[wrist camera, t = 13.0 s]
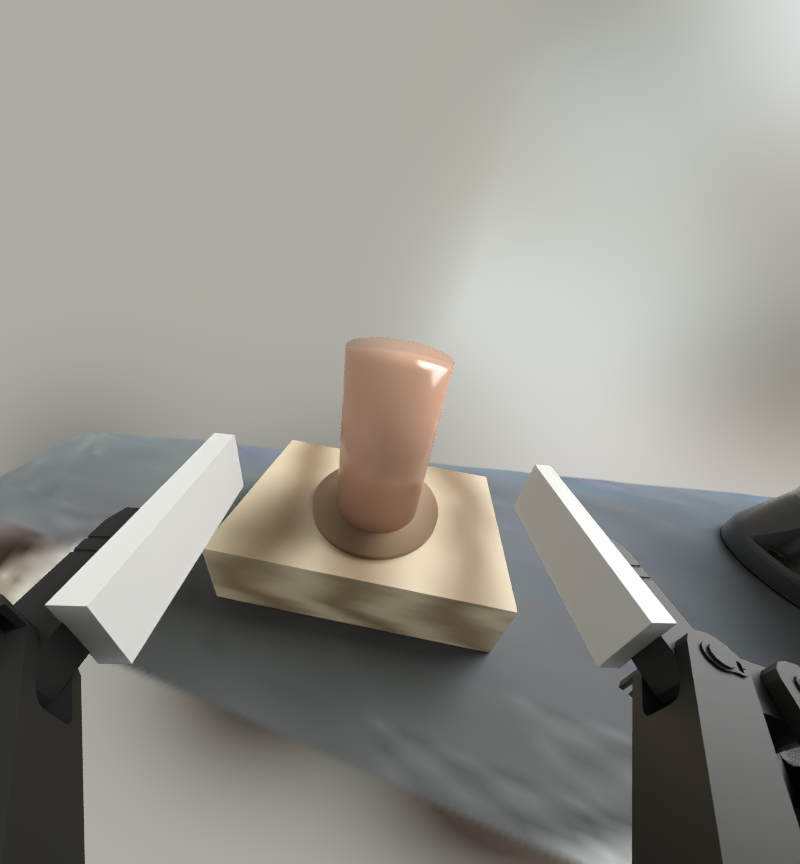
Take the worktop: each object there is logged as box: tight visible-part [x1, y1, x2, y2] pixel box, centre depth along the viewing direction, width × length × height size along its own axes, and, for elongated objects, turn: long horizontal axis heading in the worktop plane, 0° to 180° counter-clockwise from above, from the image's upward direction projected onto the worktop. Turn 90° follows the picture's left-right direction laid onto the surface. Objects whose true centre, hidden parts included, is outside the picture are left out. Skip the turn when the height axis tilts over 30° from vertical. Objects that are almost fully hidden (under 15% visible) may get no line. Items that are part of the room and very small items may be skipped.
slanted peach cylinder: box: [337, 338, 454, 533], centre depth 20 cm, size 6×6×12 cm
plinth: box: [202, 440, 517, 653], centre depth 24 cm, size 20×13×6 cm, turn 84°
